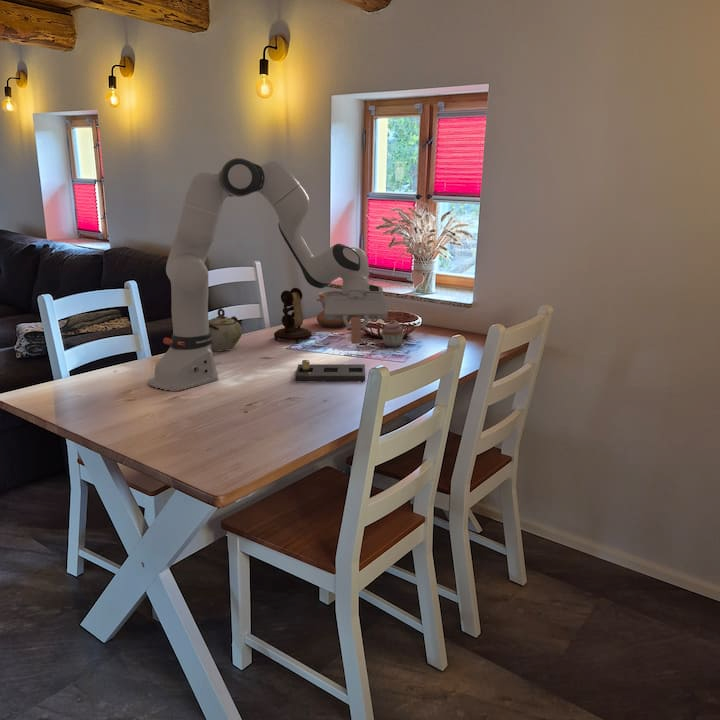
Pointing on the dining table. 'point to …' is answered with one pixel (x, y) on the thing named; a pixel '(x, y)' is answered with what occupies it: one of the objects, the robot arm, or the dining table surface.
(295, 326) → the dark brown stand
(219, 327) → the olive green rounded pot
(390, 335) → the cupcake
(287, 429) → the dining table surface
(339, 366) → the grey peg board
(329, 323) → the ceramic jug
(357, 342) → the terracotta peg
